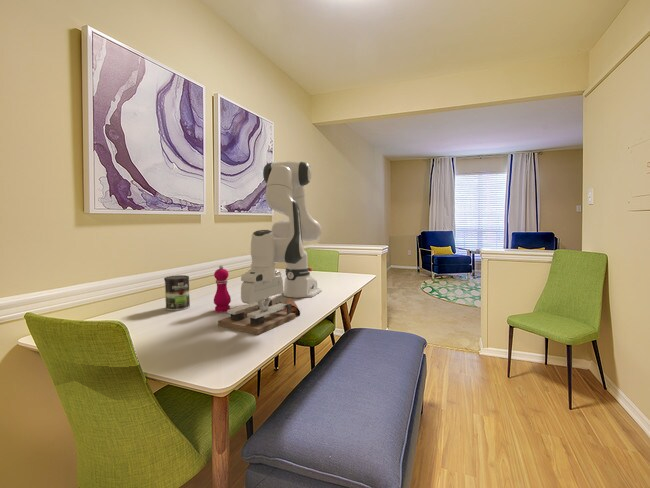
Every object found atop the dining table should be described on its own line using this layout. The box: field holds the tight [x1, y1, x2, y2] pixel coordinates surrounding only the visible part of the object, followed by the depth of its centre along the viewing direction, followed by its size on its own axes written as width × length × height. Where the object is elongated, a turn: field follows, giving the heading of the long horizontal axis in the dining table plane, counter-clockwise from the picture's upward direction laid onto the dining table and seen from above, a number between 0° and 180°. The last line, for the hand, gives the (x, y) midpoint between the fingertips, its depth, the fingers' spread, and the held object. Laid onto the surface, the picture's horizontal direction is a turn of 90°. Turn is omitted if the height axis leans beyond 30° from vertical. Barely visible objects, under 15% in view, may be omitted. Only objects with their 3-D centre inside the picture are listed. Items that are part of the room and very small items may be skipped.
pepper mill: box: [213, 264, 232, 313], centre depth 150 cm, size 7×7×20 cm
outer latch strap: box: [247, 302, 287, 319], centre depth 131 cm, size 19×4×1 cm, turn 149°
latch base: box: [217, 299, 296, 336], centre depth 133 cm, size 22×20×6 cm
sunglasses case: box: [281, 297, 301, 317], centre depth 149 cm, size 18×7×7 cm, turn 15°
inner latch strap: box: [226, 302, 264, 315], centre depth 136 cm, size 19×4×1 cm, turn 149°
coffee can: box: [164, 274, 191, 312], centre depth 155 cm, size 10×10×14 cm
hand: (264, 310), depth 129 cm, fingers closed
